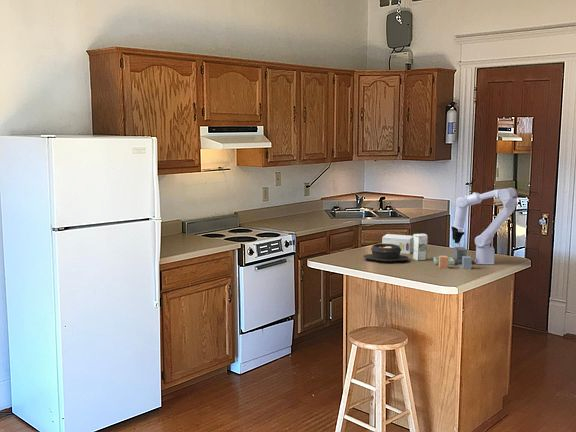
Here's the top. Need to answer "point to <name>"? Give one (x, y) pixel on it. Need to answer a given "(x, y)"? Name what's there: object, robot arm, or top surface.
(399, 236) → the supplement box
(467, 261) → the slate block
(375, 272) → the top surface
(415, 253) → the syrup box
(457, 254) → the grey housing
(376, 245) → the black round brimmed piece
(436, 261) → the sage tray
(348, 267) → the top surface
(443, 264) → the terracotta block
